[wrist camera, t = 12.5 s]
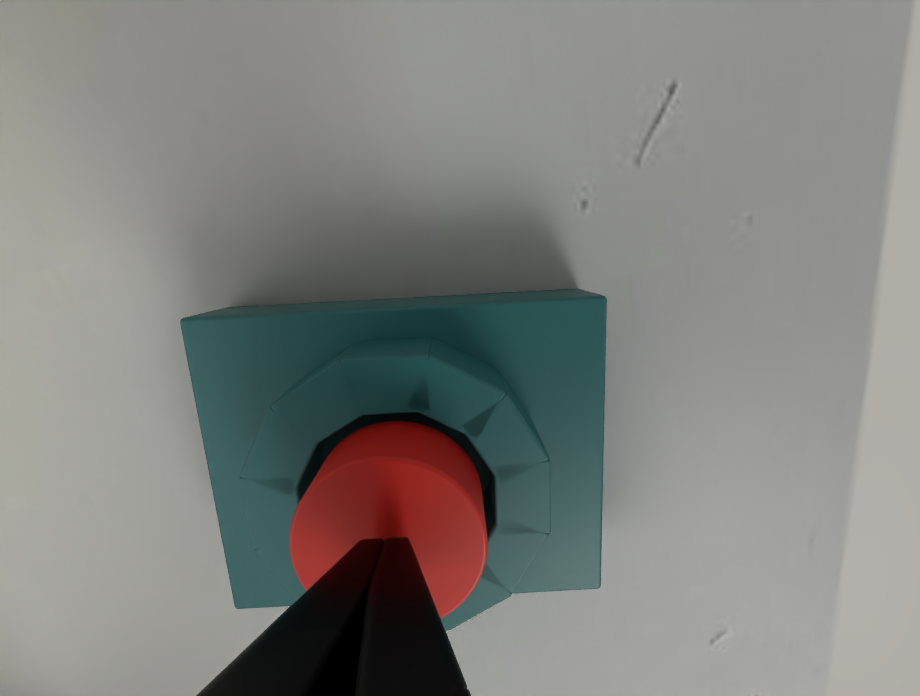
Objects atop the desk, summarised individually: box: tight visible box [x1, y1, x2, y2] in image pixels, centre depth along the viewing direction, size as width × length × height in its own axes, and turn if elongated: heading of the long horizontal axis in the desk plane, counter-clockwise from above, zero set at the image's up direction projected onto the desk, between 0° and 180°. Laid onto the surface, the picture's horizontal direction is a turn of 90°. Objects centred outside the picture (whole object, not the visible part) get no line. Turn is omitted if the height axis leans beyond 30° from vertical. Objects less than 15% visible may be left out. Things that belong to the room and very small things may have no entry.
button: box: [289, 421, 488, 618], centre depth 9 cm, size 4×4×2 cm
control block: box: [180, 289, 607, 631], centre depth 11 cm, size 10×8×4 cm
